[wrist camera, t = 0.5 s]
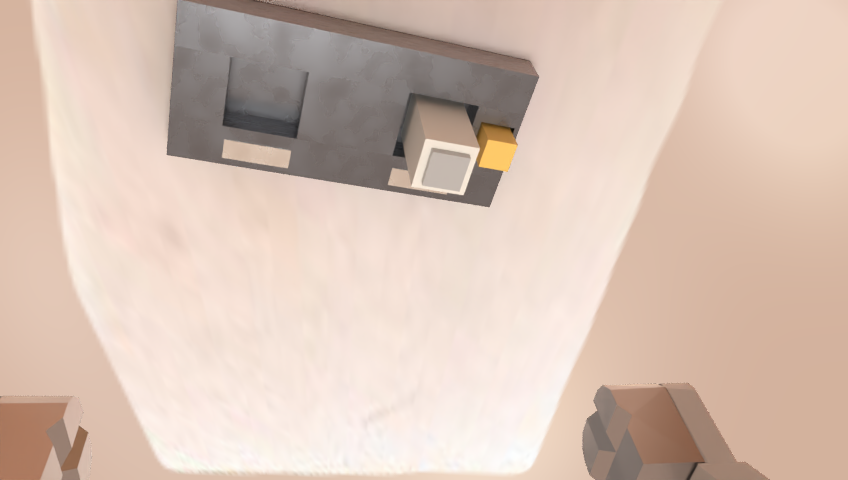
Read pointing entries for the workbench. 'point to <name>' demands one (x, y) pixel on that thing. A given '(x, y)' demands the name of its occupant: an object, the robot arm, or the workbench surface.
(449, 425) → the workbench surface
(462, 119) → the plug
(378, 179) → the panel
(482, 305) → the workbench surface
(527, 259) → the workbench surface
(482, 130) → the plate
